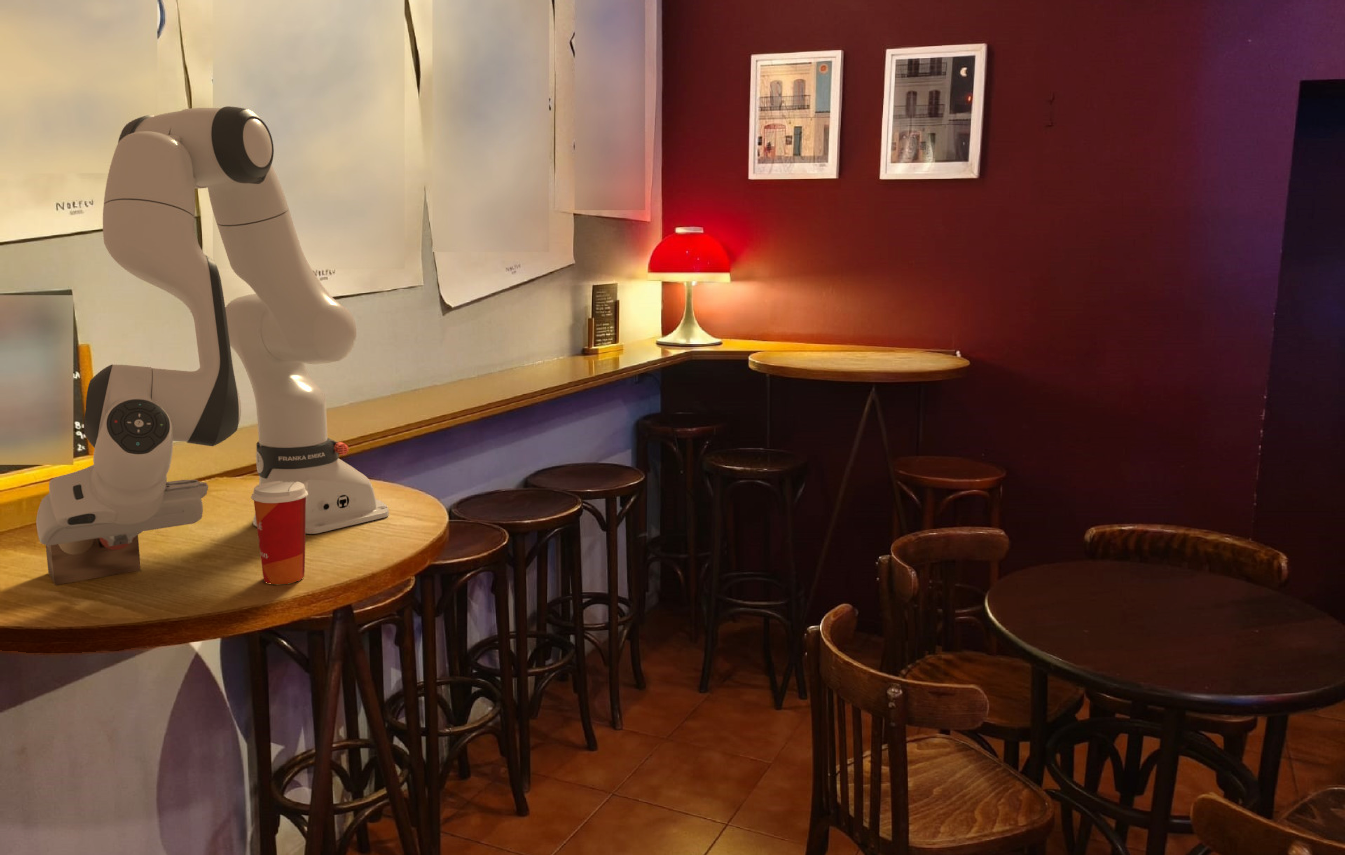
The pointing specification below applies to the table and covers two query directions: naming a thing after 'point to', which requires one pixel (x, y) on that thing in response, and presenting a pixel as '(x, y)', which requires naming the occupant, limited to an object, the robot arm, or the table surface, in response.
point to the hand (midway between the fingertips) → (118, 540)
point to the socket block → (90, 560)
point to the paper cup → (281, 530)
